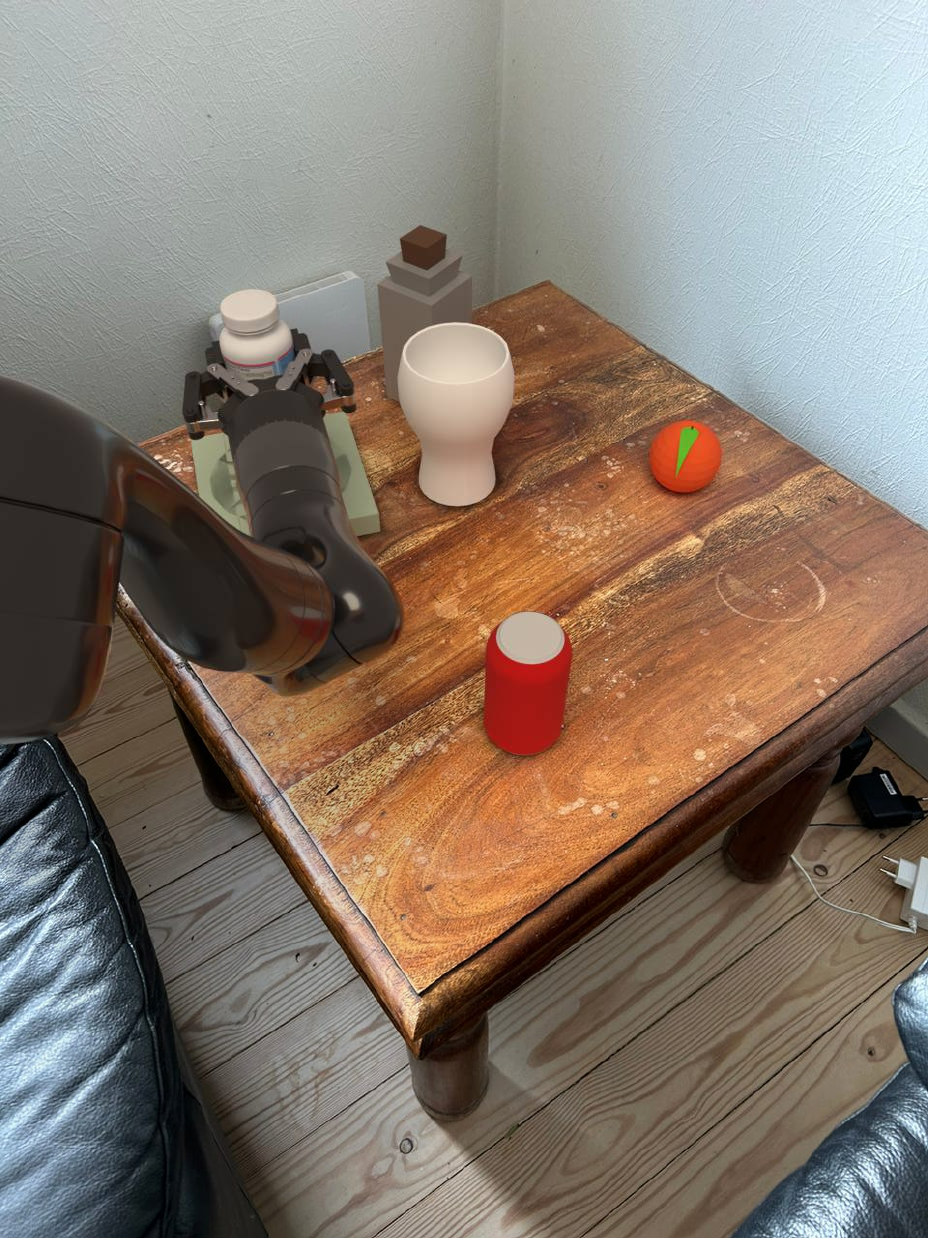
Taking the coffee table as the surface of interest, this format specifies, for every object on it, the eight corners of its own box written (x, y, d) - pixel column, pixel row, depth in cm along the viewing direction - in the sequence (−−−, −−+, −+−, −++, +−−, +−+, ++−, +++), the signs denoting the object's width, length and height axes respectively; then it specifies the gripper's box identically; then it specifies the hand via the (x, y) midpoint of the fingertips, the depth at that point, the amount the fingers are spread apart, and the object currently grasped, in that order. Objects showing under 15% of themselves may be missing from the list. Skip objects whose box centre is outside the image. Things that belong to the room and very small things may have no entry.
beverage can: (570, 754, 72) (585, 661, 63) (493, 768, 71) (497, 677, 62) (549, 691, 76) (561, 596, 67) (476, 704, 75) (477, 609, 66)
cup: (506, 445, 96) (512, 317, 85) (513, 516, 89) (520, 387, 78) (405, 447, 96) (396, 319, 84) (403, 518, 89) (394, 389, 78)
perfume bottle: (423, 366, 105) (417, 212, 91) (471, 387, 103) (472, 232, 89) (386, 396, 102) (373, 240, 88) (435, 418, 99) (430, 261, 85)
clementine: (703, 521, 89) (718, 465, 83) (633, 503, 90) (644, 446, 85) (720, 470, 94) (736, 413, 88) (653, 453, 95) (665, 397, 90)
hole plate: (212, 565, 85) (206, 546, 83) (195, 457, 95) (190, 438, 93) (380, 531, 88) (378, 512, 86) (347, 429, 98) (345, 410, 96)
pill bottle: (278, 388, 86) (257, 275, 77) (319, 417, 83) (301, 303, 74) (224, 416, 83) (195, 303, 74) (264, 447, 80) (239, 332, 72)
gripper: (373, 407, 68) (332, 291, 78) (175, 442, 65) (160, 317, 76) (381, 484, 74) (342, 366, 84) (199, 519, 71) (182, 393, 82)
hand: (256, 344), depth 80 cm, fingers closed on pill bottle, 6 cm apart
